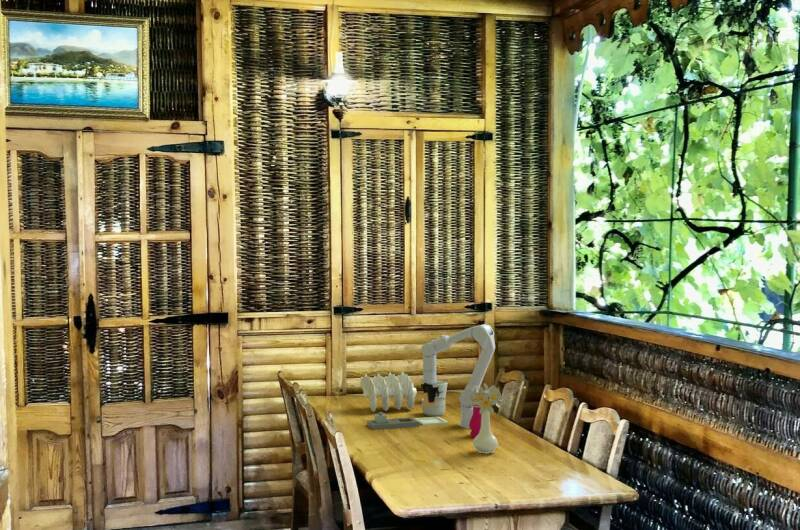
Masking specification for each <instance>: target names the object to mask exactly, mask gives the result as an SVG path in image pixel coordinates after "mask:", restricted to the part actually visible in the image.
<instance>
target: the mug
mask: <svg viewBox="0 0 800 530" xmlns="http://www.w3.org/2000/svg"><path fill="white" fill-rule="evenodd" d="M437 383H438V387H439V389H438V390H437V393H436V396H435V397H444V398H445V399H446V397H447V388H448V383H449V382H447V381H444V380H437Z"/></svg>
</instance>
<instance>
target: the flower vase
mask: <svg viewBox="0 0 800 530" xmlns="http://www.w3.org/2000/svg"><path fill="white" fill-rule="evenodd" d="M478 391H479V392H478ZM478 393H479V394H478ZM469 398H472V399H471V400H470V401H469V402H471V401H472V400H473V401H472V403H471V405H475V404H476V405H478V406H481V408H480V414H482V418H481V429H480V432H479V434H478V435H477V436H476V437H473V441H472V445H473V447H474V448H475V450H476V452H477V453H478V454H481V453H483V455H490V454H489V453H491V454H493V453H494V452H495V450H496V448H498V446H499V441H498V439H497V437H496V436H495V435H494V434H493V432H492V429H491V423H490V414H494V413H495V410H494V408H493V407H492V406H494V405H495V406H496V407H497V408H498V409H499V408H501V406H504V405H503V402H502V401H504V400H505V398H504V396H502V394H501V392H500V387H496V386H495V384H493V385H490V387H489V386H488V384H487V383H485V382H483V387H482V386H480V389H479V390H478V386H477V388H476V386H475V387H474V392H471V395H470V397H469ZM484 453H485V454H484Z"/></svg>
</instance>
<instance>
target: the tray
mask: <svg viewBox="0 0 800 530" xmlns="http://www.w3.org/2000/svg"><path fill="white" fill-rule="evenodd" d="M413 419H415V420H417V421H418V422H419V425H420V426H423V427H424V426H436V425H437V426H439V425H448V424H449V421H447V420H445V419H443V418H441V417H440V416H427V417H417V418H416V417H415V418H413Z"/></svg>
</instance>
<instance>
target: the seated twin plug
mask: <svg viewBox="0 0 800 530" xmlns="http://www.w3.org/2000/svg"><path fill="white" fill-rule="evenodd" d="M387 419H388V418H387V415H386V414H385V413H383V412H382V411H380V412H378V413H375V414H374V420H375V423H376V424H380V423H387Z"/></svg>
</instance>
